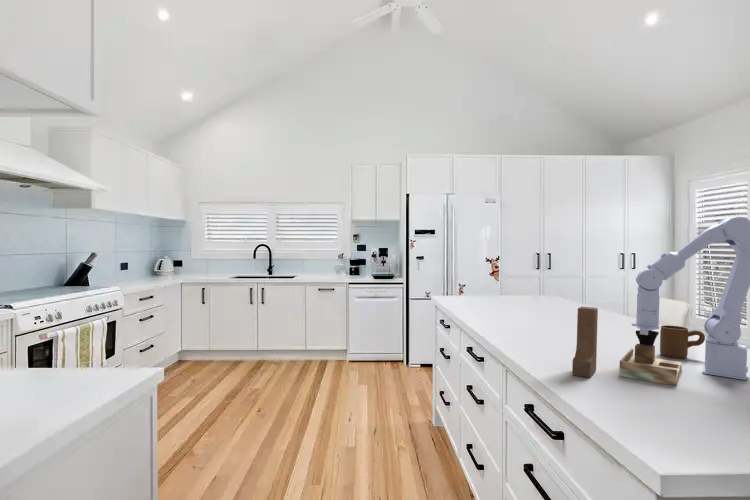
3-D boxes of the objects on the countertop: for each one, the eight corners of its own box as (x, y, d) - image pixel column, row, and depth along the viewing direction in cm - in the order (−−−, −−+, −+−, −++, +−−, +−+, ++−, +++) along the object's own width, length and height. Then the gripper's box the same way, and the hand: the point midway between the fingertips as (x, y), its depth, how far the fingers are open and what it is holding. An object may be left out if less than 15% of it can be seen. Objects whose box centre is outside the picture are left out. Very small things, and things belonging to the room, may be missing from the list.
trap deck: (681, 369, 131) (681, 355, 131) (676, 385, 115) (676, 370, 115) (630, 361, 139) (631, 348, 139) (619, 375, 123) (619, 361, 123)
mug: (703, 357, 146) (704, 328, 145) (705, 362, 139) (706, 332, 139) (659, 352, 152) (660, 324, 152) (659, 356, 146) (660, 327, 146)
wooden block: (589, 378, 120) (591, 311, 119) (571, 375, 122) (573, 309, 122) (596, 371, 127) (598, 307, 127) (579, 368, 130) (580, 306, 129)
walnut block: (654, 361, 131) (654, 345, 131) (652, 364, 128) (652, 348, 128) (636, 358, 134) (637, 343, 134) (634, 361, 131) (634, 346, 131)
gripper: (636, 306, 142) (634, 348, 142) (628, 311, 131) (627, 357, 131) (662, 308, 138) (661, 352, 138) (656, 313, 126) (655, 362, 126)
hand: (646, 355), depth 134 cm, fingers closed
